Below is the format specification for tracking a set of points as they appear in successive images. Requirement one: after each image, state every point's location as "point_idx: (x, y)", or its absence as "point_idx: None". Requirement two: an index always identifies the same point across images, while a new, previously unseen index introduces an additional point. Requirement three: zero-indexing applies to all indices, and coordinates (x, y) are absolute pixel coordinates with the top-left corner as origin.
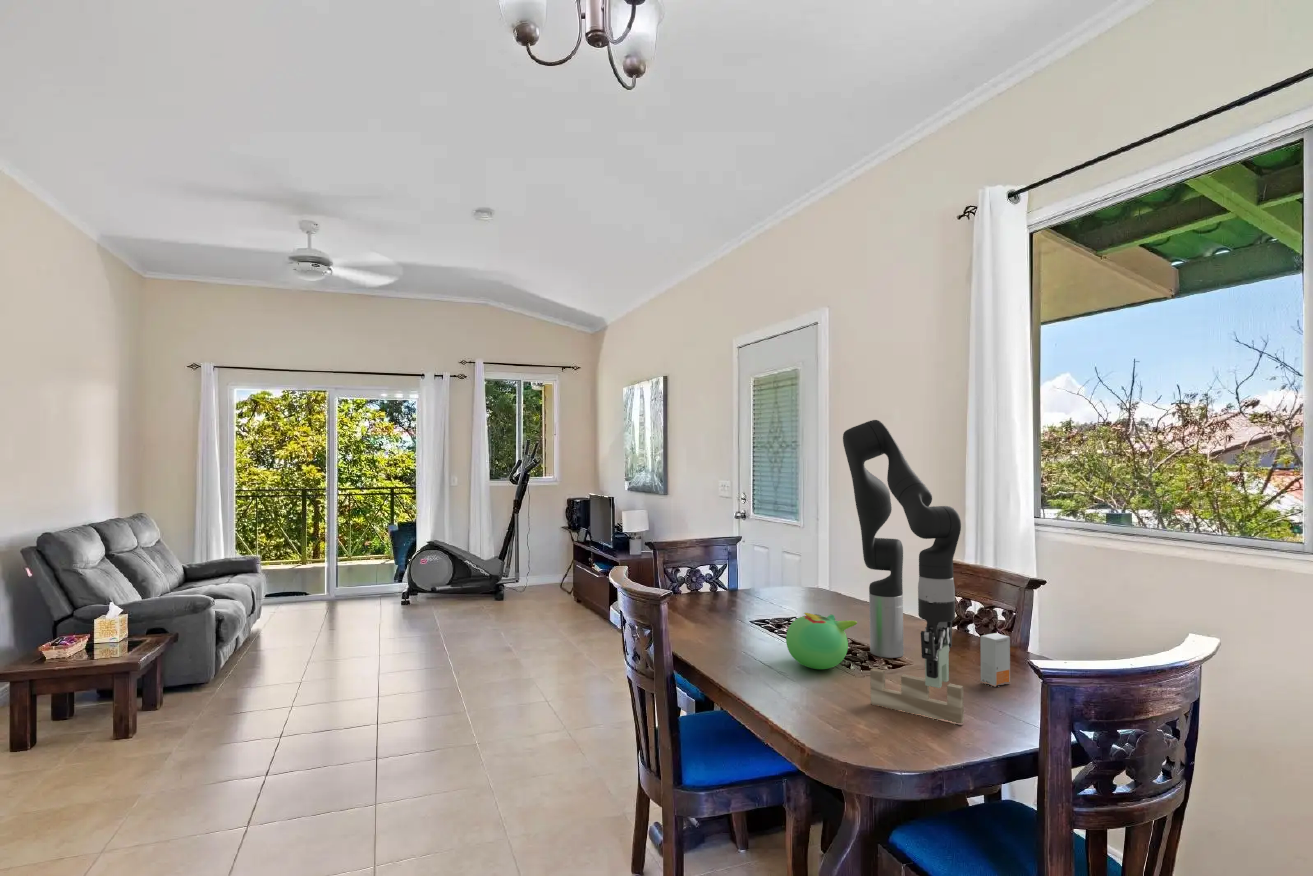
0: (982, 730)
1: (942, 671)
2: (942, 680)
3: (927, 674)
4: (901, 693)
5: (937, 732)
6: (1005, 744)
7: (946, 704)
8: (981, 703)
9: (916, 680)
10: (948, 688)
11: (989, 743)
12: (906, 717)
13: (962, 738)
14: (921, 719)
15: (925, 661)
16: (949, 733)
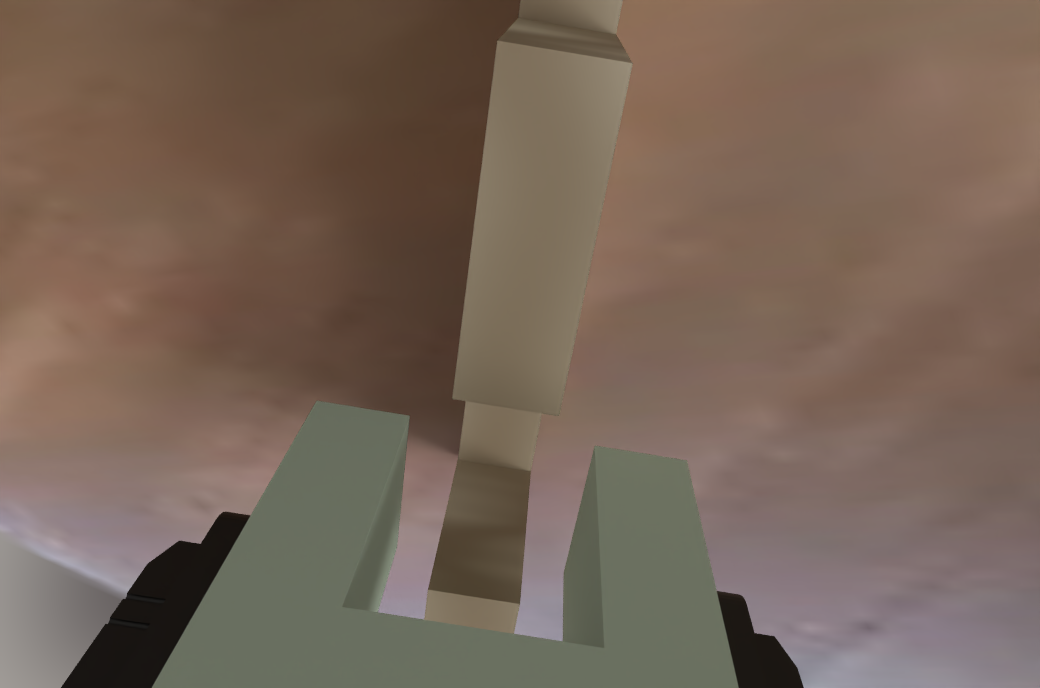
0: None
1: (569, 638)
2: (571, 548)
3: (215, 532)
4: (517, 20)
5: (259, 340)
6: None
7: (470, 453)
8: (997, 537)
9: (471, 273)
10: (431, 580)
11: None
12: (419, 77)
13: (265, 476)
14: (444, 202)
15: (171, 660)
16: (294, 407)
